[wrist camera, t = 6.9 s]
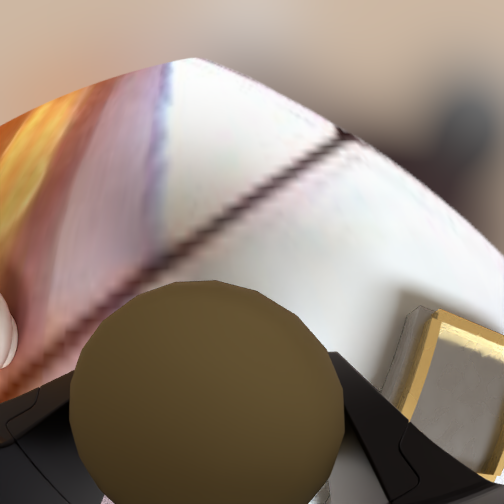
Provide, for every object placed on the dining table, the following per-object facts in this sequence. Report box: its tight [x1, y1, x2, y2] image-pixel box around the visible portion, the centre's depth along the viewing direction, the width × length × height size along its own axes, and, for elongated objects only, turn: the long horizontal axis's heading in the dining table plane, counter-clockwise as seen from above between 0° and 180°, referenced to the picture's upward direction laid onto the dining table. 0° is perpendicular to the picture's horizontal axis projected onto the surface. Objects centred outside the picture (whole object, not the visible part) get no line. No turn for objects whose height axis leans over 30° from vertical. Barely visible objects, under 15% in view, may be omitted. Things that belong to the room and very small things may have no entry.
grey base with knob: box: [325, 306, 504, 504], centre depth 14 cm, size 16×12×4 cm
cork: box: [69, 280, 345, 504], centre depth 9 cm, size 6×6×11 cm
